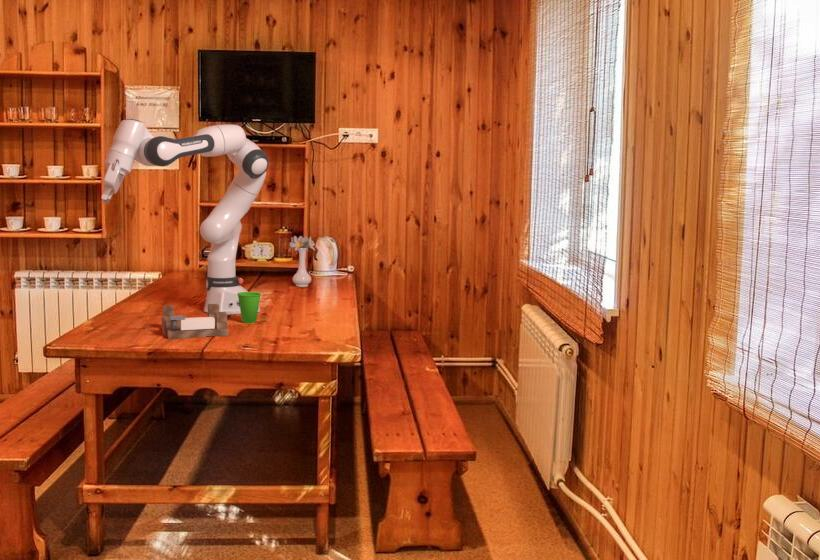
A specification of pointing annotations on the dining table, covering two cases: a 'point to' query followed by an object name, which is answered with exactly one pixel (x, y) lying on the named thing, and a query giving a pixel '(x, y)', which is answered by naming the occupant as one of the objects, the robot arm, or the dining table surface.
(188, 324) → the hinged leg
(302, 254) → the flower vase
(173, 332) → the stool board
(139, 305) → the dining table surface
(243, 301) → the cup
